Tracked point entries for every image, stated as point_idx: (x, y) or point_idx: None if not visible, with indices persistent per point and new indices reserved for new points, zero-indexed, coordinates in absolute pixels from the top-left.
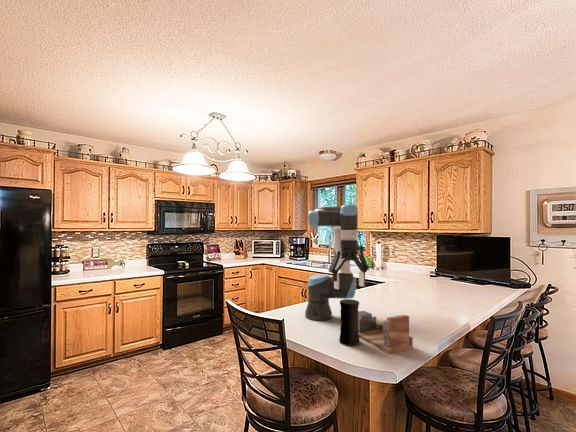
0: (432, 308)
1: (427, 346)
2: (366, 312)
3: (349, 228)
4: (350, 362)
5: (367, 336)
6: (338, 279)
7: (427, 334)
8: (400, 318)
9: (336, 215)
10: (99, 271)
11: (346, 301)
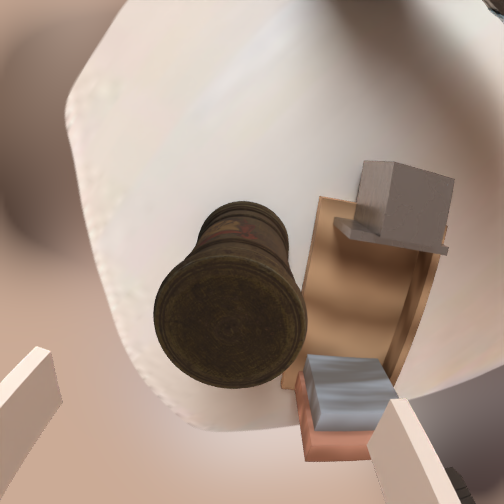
0: None
1: (414, 391)
2: (440, 212)
3: None
4: (134, 355)
5: (327, 271)
6: (12, 465)
7: (497, 332)
8: (354, 458)
9: None
10: None
11: (207, 317)
